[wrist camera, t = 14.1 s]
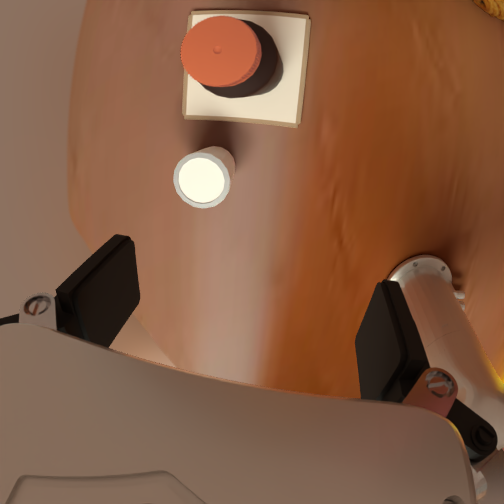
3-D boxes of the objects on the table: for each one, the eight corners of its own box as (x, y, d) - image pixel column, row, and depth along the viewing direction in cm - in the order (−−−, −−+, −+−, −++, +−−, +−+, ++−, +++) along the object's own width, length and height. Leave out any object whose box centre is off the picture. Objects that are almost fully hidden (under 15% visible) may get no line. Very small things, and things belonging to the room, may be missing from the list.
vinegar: (265, 34, 30) (236, -16, 13) (294, 79, 33) (295, 66, 16) (218, 62, 33) (147, 42, 15) (246, 104, 35) (200, 121, 18)
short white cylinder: (193, 190, 43) (176, 209, 37) (188, 142, 39) (169, 154, 33) (241, 189, 42) (231, 208, 36) (238, 140, 38) (228, 151, 32)
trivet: (310, 16, 29) (311, 15, 28) (299, 127, 37) (299, 128, 36) (190, 12, 30) (188, 11, 29) (183, 118, 38) (181, 119, 37)
